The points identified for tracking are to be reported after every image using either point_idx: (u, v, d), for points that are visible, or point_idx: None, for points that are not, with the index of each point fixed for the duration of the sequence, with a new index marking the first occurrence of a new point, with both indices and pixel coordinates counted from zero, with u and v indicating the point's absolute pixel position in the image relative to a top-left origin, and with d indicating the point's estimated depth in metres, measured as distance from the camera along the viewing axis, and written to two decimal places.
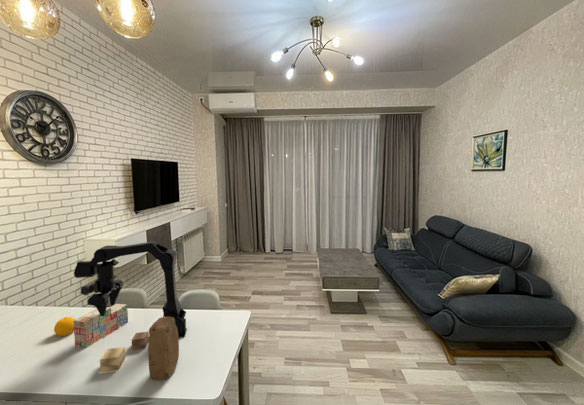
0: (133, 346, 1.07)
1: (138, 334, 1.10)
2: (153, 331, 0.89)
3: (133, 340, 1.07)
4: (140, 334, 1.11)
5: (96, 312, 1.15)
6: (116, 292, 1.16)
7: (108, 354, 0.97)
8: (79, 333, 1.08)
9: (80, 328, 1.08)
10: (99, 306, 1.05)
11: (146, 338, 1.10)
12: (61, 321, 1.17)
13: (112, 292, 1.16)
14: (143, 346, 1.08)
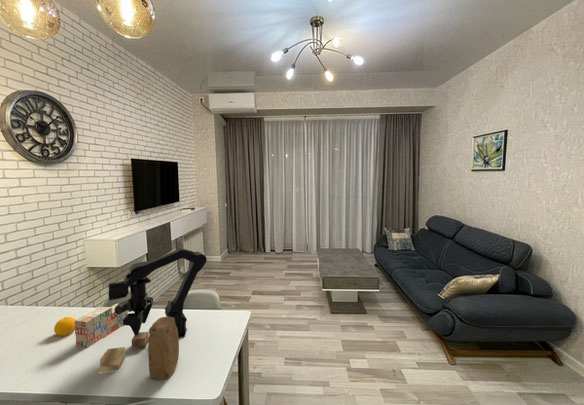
0: (133, 346, 1.07)
1: (138, 334, 1.10)
2: (153, 331, 0.89)
3: (133, 340, 1.07)
4: (140, 334, 1.11)
5: (97, 312, 1.15)
6: (147, 309, 1.14)
7: (108, 354, 0.97)
8: (80, 333, 1.08)
9: (81, 328, 1.08)
10: (133, 326, 1.03)
11: (146, 338, 1.10)
12: (61, 321, 1.17)
13: (143, 310, 1.14)
14: (143, 346, 1.08)
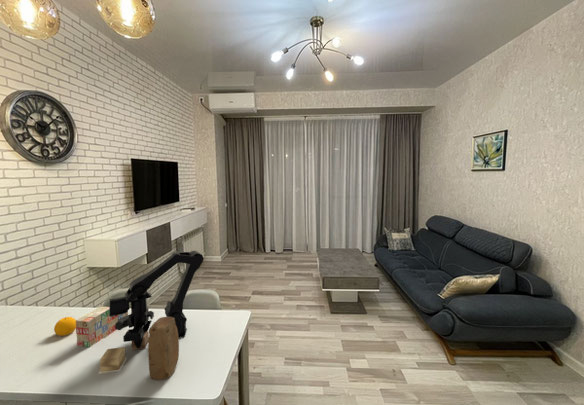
0: (133, 346, 1.07)
1: None
2: (153, 331, 0.89)
3: None
4: None
5: (98, 312, 1.15)
6: (146, 326, 1.13)
7: (108, 354, 0.97)
8: (81, 333, 1.08)
9: (82, 328, 1.08)
10: None
11: (146, 338, 1.10)
12: (61, 321, 1.17)
13: (142, 326, 1.12)
14: (143, 346, 1.08)
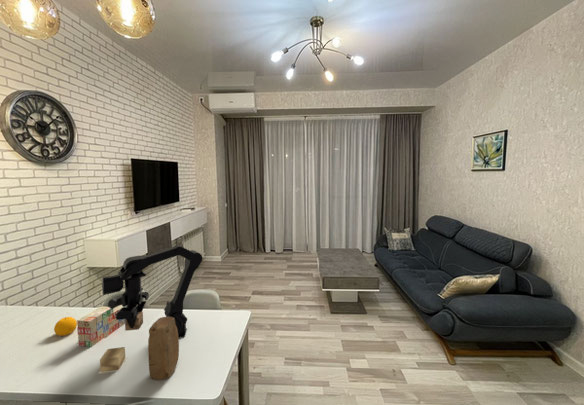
0: (126, 325, 1.04)
1: None
2: (153, 331, 0.89)
3: None
4: None
5: (99, 311, 1.15)
6: (141, 307, 1.10)
7: (108, 354, 0.97)
8: (83, 333, 1.09)
9: (84, 327, 1.08)
10: None
11: (140, 318, 1.07)
12: (61, 321, 1.17)
13: (137, 307, 1.09)
14: (137, 326, 1.05)
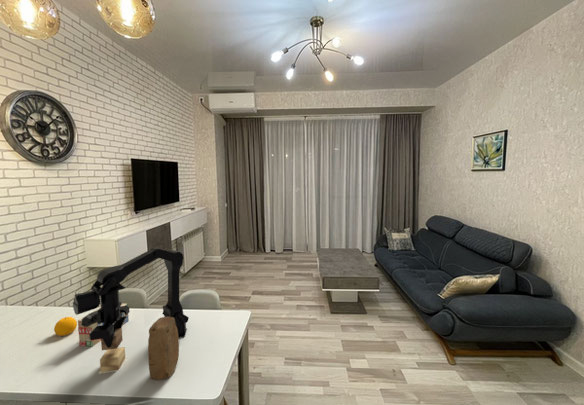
0: (103, 345, 0.94)
1: None
2: (153, 331, 0.89)
3: None
4: None
5: None
6: (120, 323, 1.00)
7: (108, 354, 0.97)
8: (84, 332, 1.09)
9: (85, 327, 1.08)
10: None
11: (118, 336, 0.97)
12: (61, 321, 1.17)
13: (115, 323, 1.00)
14: (114, 345, 0.95)
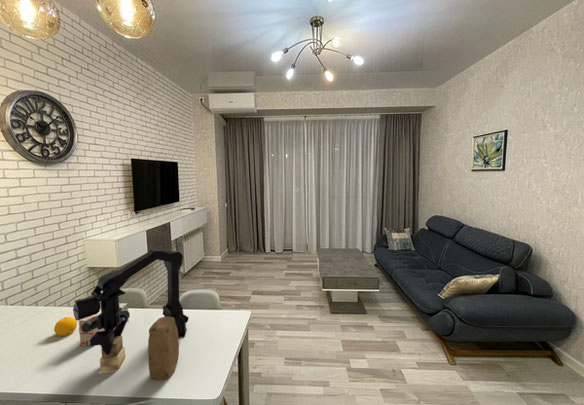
0: (103, 353, 0.94)
1: None
2: (153, 331, 0.89)
3: None
4: None
5: (100, 311, 1.15)
6: (121, 327, 1.01)
7: None
8: (85, 332, 1.09)
9: None
10: (104, 344, 0.92)
11: (119, 343, 0.97)
12: (61, 321, 1.17)
13: (116, 327, 1.01)
14: (115, 353, 0.95)
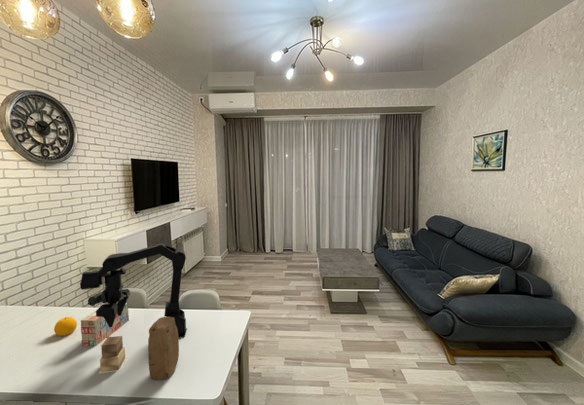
0: (103, 353, 0.94)
1: (110, 339, 0.98)
2: (153, 331, 0.89)
3: (103, 346, 0.94)
4: (113, 338, 0.98)
5: None
6: (123, 302, 1.13)
7: None
8: (87, 332, 1.09)
9: (88, 327, 1.09)
10: (107, 317, 1.02)
11: (119, 343, 0.97)
12: (61, 321, 1.17)
13: (119, 302, 1.12)
14: (115, 353, 0.95)
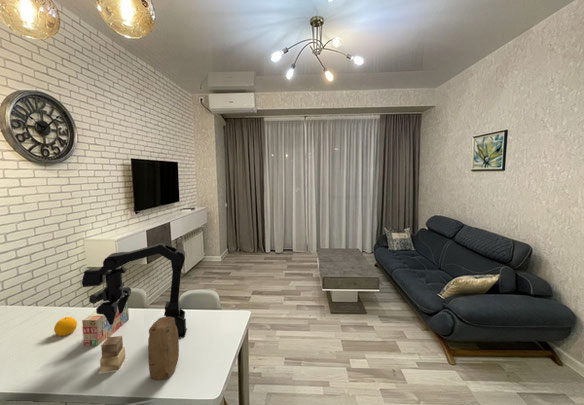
0: (103, 353, 0.94)
1: (110, 339, 0.98)
2: (153, 331, 0.89)
3: (103, 346, 0.94)
4: (113, 338, 0.98)
5: None
6: (124, 300, 1.14)
7: None
8: (89, 332, 1.09)
9: (90, 327, 1.09)
10: (108, 315, 1.03)
11: (119, 343, 0.97)
12: (61, 321, 1.17)
13: (120, 300, 1.14)
14: (115, 353, 0.95)
